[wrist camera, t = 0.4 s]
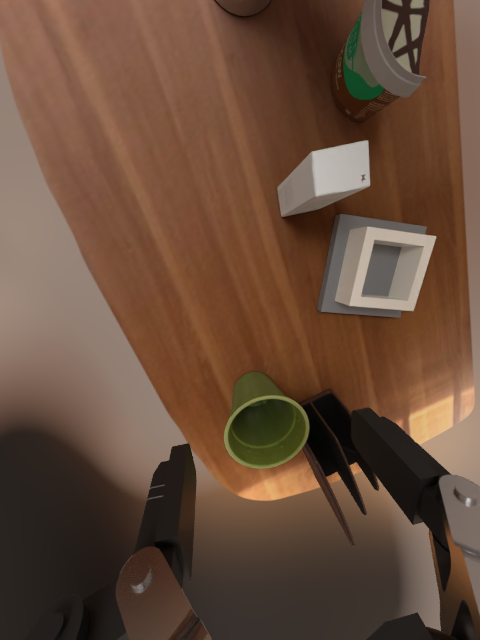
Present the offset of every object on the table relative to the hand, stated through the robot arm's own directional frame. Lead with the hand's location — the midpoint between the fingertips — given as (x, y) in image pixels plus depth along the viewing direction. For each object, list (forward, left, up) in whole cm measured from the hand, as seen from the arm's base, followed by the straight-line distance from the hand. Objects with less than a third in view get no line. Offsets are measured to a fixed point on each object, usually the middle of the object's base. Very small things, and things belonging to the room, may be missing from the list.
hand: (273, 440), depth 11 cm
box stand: (-9, +23, -27) cm, 37 cm away
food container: (-33, +13, -27) cm, 45 cm away
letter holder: (+25, +22, -28) cm, 43 cm away
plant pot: (+14, +6, -27) cm, 31 cm away
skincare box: (-18, +9, -27) cm, 34 cm away
